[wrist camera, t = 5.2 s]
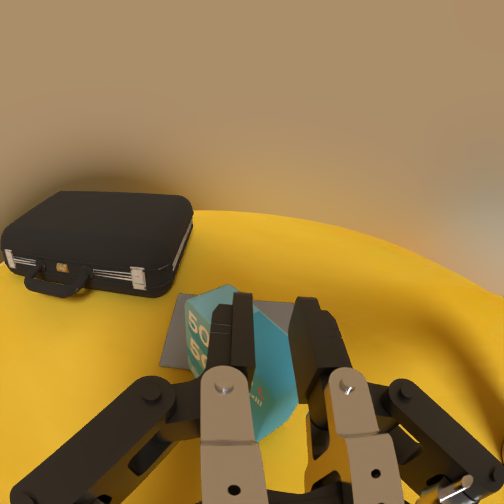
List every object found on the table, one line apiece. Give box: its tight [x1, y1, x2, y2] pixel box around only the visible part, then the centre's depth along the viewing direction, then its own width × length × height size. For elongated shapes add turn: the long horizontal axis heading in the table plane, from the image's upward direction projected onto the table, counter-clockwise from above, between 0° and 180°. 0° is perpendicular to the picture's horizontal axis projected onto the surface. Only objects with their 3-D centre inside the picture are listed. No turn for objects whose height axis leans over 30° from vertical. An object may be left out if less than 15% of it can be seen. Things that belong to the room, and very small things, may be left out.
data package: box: [185, 285, 299, 442], centre depth 24 cm, size 12×4×12 cm, turn 40°
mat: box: [160, 293, 294, 370], centre depth 36 cm, size 14×18×1 cm
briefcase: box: [1, 191, 194, 298], centre depth 43 cm, size 36×32×10 cm
